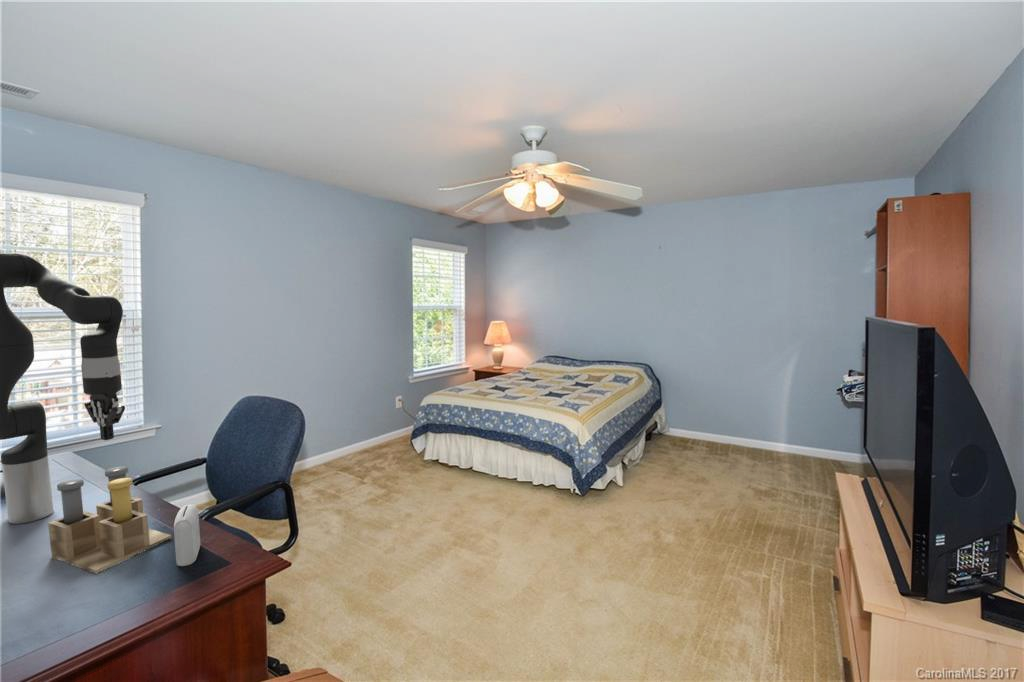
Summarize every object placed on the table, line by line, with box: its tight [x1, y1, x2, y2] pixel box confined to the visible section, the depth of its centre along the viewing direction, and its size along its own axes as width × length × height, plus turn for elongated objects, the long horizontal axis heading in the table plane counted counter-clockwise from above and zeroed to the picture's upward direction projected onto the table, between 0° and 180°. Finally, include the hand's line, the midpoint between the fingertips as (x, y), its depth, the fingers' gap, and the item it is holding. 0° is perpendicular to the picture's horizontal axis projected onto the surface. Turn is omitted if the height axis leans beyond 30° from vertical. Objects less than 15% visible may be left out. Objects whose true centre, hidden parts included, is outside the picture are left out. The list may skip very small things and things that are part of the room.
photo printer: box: [173, 503, 201, 567], centre depth 118 cm, size 10×4×12 cm, turn 26°
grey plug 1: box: [56, 478, 85, 525], centre depth 118 cm, size 5×5×10 cm
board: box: [47, 496, 172, 575], centre depth 122 cm, size 18×17×9 cm
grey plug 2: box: [104, 465, 129, 507], centre depth 127 cm, size 5×5×10 cm
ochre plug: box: [106, 477, 134, 524], centre depth 119 cm, size 5×5×10 cm
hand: (107, 439), depth 124 cm, fingers closed
